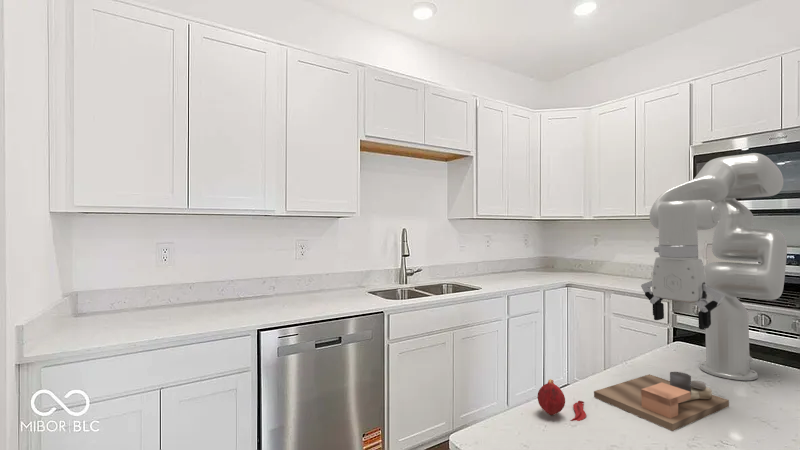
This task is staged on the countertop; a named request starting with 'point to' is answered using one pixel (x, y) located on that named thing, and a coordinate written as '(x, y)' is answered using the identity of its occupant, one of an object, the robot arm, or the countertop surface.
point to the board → (630, 401)
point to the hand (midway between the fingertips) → (680, 323)
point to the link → (689, 386)
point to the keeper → (664, 399)
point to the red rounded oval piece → (551, 398)
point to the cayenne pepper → (579, 411)
